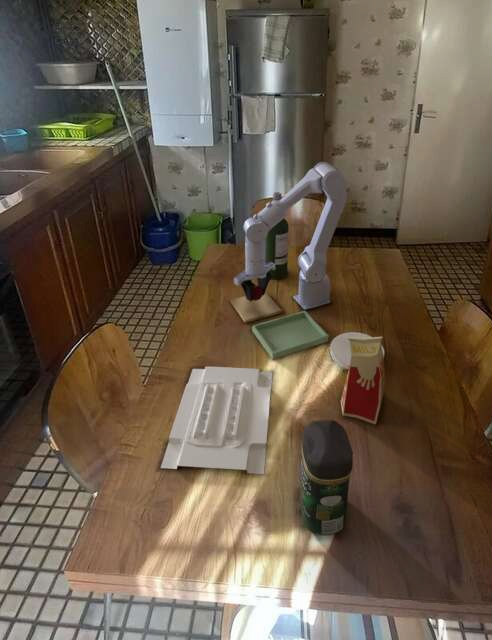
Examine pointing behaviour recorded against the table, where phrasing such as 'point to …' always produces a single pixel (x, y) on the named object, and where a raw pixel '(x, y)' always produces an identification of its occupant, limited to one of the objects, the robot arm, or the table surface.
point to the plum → (257, 293)
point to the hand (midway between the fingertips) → (255, 296)
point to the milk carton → (364, 380)
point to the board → (255, 308)
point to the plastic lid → (344, 348)
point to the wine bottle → (277, 246)
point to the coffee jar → (325, 476)
